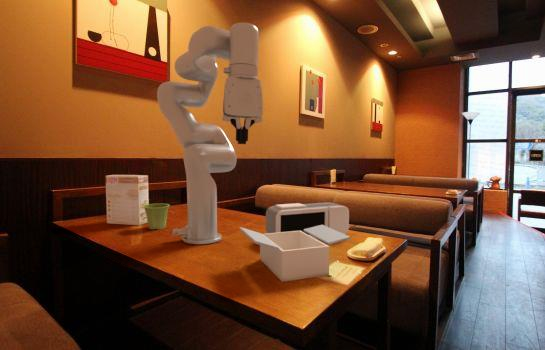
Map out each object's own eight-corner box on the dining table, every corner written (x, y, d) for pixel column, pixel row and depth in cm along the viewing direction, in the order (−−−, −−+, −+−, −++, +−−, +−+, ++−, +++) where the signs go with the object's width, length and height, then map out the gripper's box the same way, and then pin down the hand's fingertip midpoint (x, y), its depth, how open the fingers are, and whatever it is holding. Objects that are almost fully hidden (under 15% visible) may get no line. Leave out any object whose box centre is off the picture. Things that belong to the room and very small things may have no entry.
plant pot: (175, 227, 123) (174, 204, 122) (154, 232, 115) (154, 208, 115) (159, 224, 128) (159, 202, 127) (138, 228, 120) (138, 206, 120)
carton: (282, 281, 72) (282, 251, 71) (260, 259, 87) (260, 234, 86) (328, 275, 76) (329, 246, 75) (300, 254, 91) (300, 230, 90)
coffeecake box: (149, 222, 132) (148, 174, 130) (138, 225, 125) (137, 176, 123) (118, 220, 135) (117, 174, 134) (106, 223, 128) (104, 175, 127)
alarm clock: (276, 246, 99) (276, 208, 98) (265, 239, 108) (265, 204, 107) (348, 237, 110) (349, 203, 109) (333, 231, 118) (334, 199, 118)
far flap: (350, 236, 78) (350, 238, 78) (322, 224, 91) (322, 226, 92) (329, 242, 76) (329, 244, 76) (303, 229, 89) (303, 231, 90)
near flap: (279, 247, 72) (278, 250, 72) (259, 233, 85) (259, 234, 85) (255, 240, 70) (254, 243, 70) (239, 226, 83) (238, 228, 83)
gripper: (217, 68, 78) (215, 143, 80) (274, 74, 83) (272, 145, 85) (212, 74, 85) (211, 143, 87) (266, 79, 90) (264, 144, 92)
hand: (241, 143), depth 86 cm, fingers closed
